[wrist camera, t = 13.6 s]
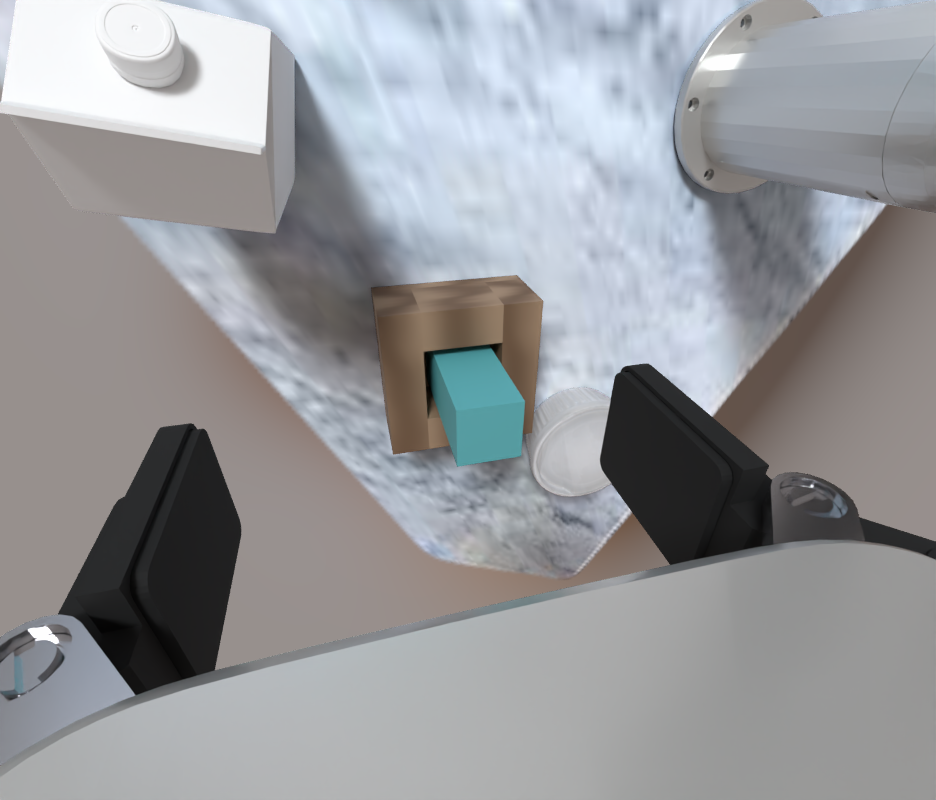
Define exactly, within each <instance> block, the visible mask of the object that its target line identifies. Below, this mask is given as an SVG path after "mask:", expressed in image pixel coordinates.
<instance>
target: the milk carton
mask: <svg viewBox="0 0 936 800" xmlns="http://www.w3.org/2000/svg"><path fill="white" fill-rule="evenodd" d="M0 113H6V114H8V115H9V117H10V118H11V120H12V121H13V122H14V124H15V125H16V127H17V128H18V130H19V131H20V132H21V134H22V135H23V137H24V138H25V140H26V141H27V143H28V144H29V145H30V147H31V148H32V150H33V151H34V153H35V154H36V155H37V157H38V158H39V160H40V161H41V163H42V164H43V166H44V167H45V168H46V170H47V171H48V173H49V174H50V176H51V177H52V179H53V180H54V182H55V183H56V184H57V186H58V187H59V189H60V190H61V192H62V193H63V194H64V196H65V197H66V199H67V200H68V202H69V203H70V205H71V206H72V207H73V209H75V210H78V211H85V212H92V213H99V214H108V215H116V216H125V217H133V218H142V219H150V220H159V221H167V222H176V223H184V224H193V225H201V226H210V227H219V228H227V229H236V230H244V231H253V232H262V233H276V230H277V227H278V224H279V222H280V219H281V216H282V214H283V211H284V208H285V206H286V203H287V200H288V198H289V195H290V192H291V190H292V187H293V184H294V182H295V56H294V54H293V53H292V52H291V51H290V50H289V49H288V48H287V47H286V46H285V45H284V43H283V42H282V41H281V40H280V39H279V38H278V37H277V36H276V35H275V34H274V33H273V32H272V31H271V30H270V29H269V28H267V27H264V26H261V25H258V24H254V23H250V22H247V21H243V20H239V19H235V18H230V17H226V16H222V15H218V14H214V13H209V12H205V11H201V10H196V9H192V8H188V7H184V6H179V5H175V4H171V3H167V2H162V1H158V0H16V4H15V11H14V18H13V25H12V31H11V38H10V45H9V52H8V59H7V66H6V73H5V79H4V86H3V93H2V101H0Z"/></svg>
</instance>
